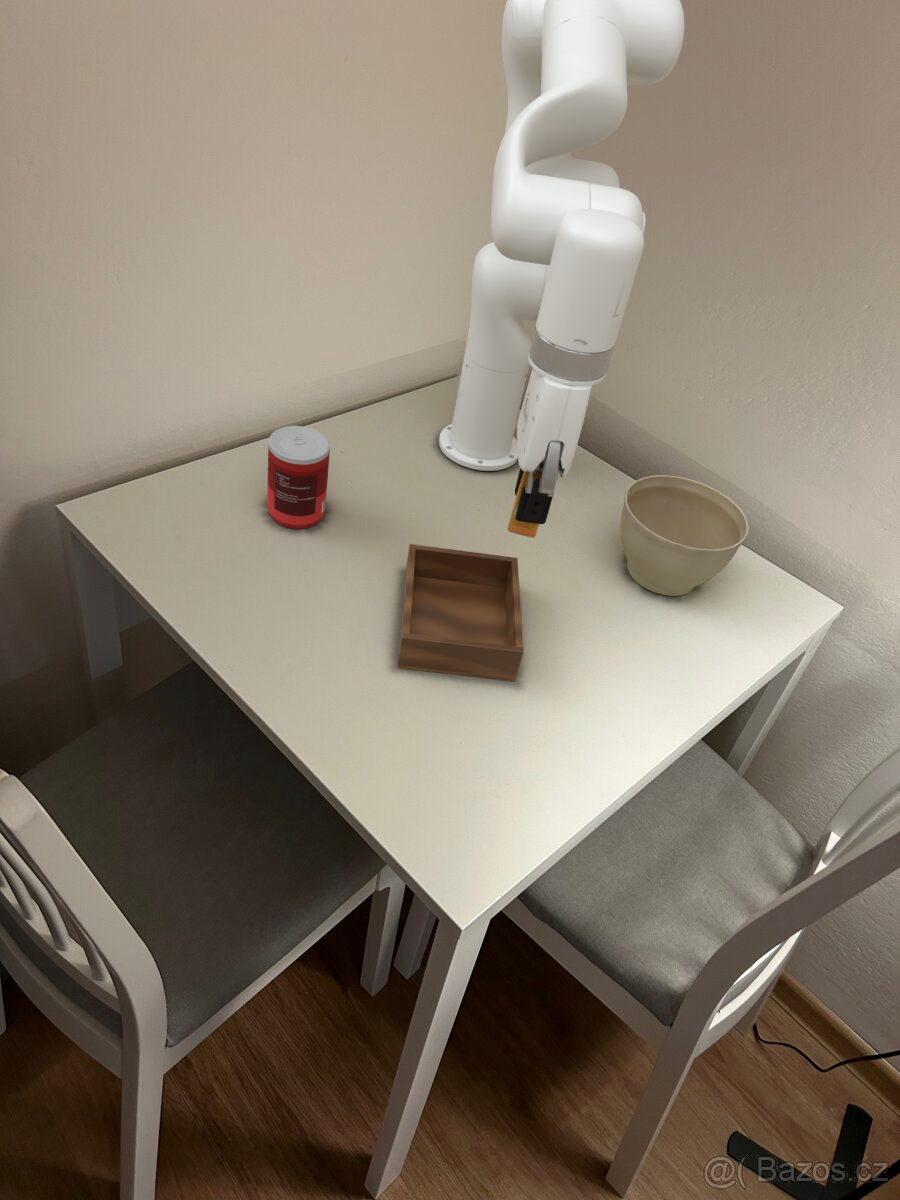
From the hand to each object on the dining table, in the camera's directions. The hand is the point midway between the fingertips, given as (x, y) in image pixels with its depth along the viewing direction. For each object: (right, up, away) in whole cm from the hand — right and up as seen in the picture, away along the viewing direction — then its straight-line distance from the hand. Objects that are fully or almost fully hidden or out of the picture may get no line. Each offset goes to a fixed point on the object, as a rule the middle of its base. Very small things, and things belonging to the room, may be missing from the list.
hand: (529, 507), depth 96 cm
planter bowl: (+20, -6, +26) cm, 34 cm away
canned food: (-29, +2, +24) cm, 38 cm away
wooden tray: (-8, -13, +13) cm, 20 cm away
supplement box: (0, -2, +2) cm, 3 cm away
